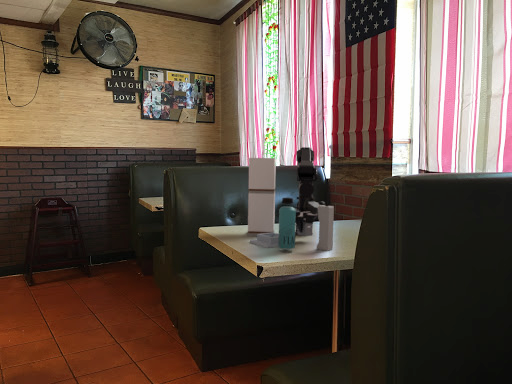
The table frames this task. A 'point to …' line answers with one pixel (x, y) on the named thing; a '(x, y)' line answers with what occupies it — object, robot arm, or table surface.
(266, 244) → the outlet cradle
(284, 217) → the beverage bottle
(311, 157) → the robot arm
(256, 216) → the white box wooden trim
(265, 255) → the table surface
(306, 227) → the brick
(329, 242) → the vintage mobile phone
